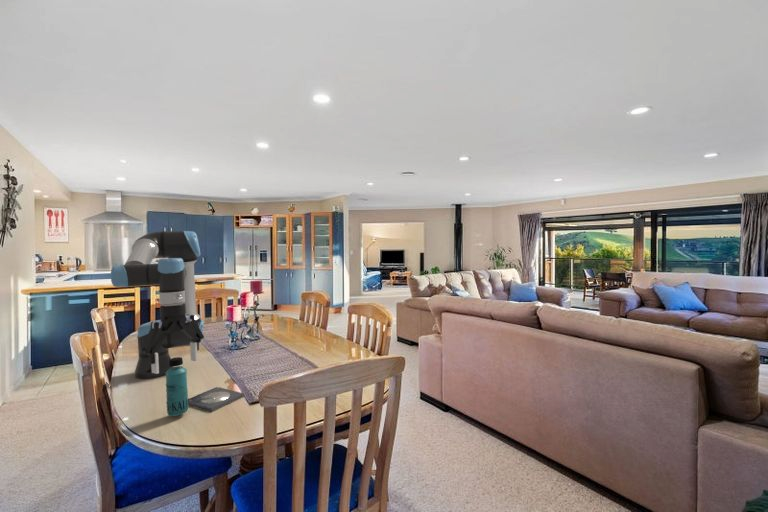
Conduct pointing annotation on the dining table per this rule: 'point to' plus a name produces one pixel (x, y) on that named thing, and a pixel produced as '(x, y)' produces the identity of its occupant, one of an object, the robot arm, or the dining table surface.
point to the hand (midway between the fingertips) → (175, 366)
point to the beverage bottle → (176, 388)
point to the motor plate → (214, 399)
